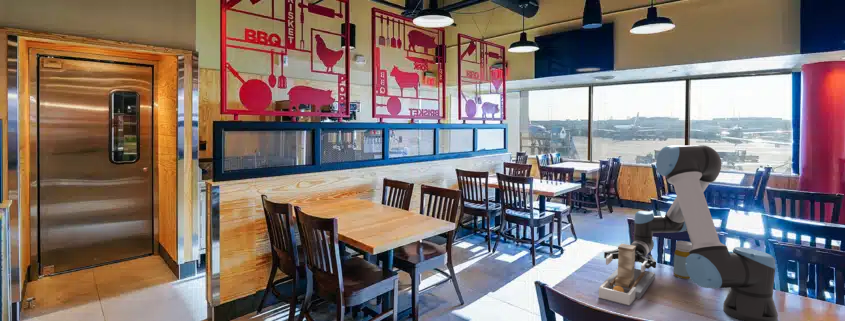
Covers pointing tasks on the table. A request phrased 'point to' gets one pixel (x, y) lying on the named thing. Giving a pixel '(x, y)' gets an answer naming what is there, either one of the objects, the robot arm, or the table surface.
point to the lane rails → (633, 283)
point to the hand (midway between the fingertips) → (624, 265)
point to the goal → (616, 295)
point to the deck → (640, 287)
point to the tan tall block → (625, 265)
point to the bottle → (681, 259)
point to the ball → (618, 288)
